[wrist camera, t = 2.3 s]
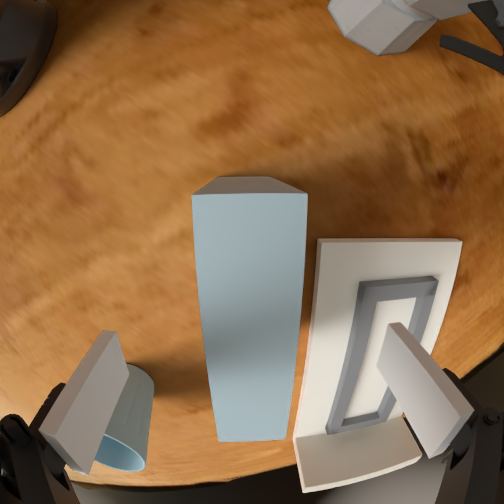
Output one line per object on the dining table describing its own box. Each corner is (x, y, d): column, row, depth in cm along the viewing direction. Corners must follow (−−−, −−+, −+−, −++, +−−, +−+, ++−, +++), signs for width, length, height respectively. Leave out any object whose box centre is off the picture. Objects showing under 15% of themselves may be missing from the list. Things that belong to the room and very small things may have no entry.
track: (317, 238, 22) (362, 286, 14) (455, 238, 23) (516, 269, 14) (292, 438, 31) (302, 492, 23) (394, 418, 32) (416, 461, 23)
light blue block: (217, 177, 21) (191, 195, 9) (269, 176, 21) (307, 193, 9) (224, 333, 25) (219, 441, 14) (267, 332, 25) (285, 438, 14)
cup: (155, 356, 26) (128, 437, 16) (171, 404, 28) (156, 477, 18) (93, 352, 25) (54, 419, 15) (114, 398, 28) (89, 462, 18)
